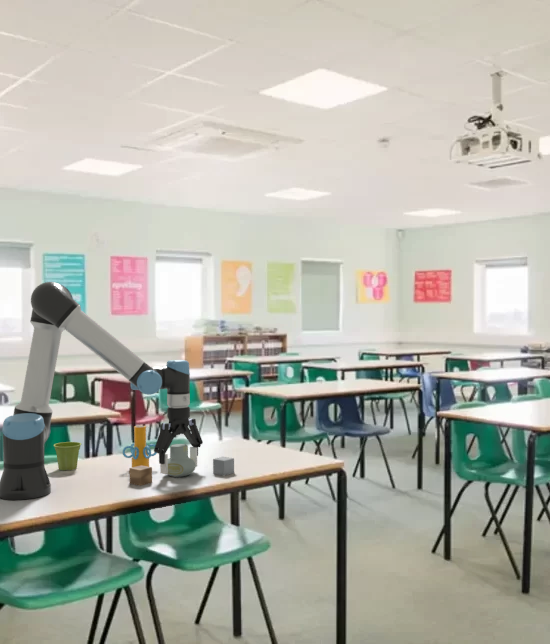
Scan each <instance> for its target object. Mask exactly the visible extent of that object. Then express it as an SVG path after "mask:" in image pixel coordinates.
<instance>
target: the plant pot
mask: <svg viewBox="0 0 550 644" xmlns="http://www.w3.org/2000/svg"><path fill="white" fill-rule="evenodd" d="M81 446H82V443H81V442H78V441H66V442H63V441H62V442H58V443H54V444H53V447H54V450H55V453H56V454H55V455H56V460H57V466H58V470H60V471H68V470H69V471H73V470H74V471H75V470H77V467H78V461H79V454H80V453H79V452H80V449H81Z"/></svg>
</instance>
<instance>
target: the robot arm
mask: <svg viewBox="0 0 550 644" xmlns="http://www.w3.org/2000/svg"><path fill="white" fill-rule="evenodd" d="M30 304H31V308H32V309H31V315H30V316H31V317H30V323H31V325H32V326H33V332H32V333H33V334H32V338H31V344H30V348H29V349H30V350H29V355H28V360H27V366H26V370H25V371H26V372H25V377H24V381H23V382H24V383H23V388H22V394H21V400H20V401H19V403H17V404H16V405H15V406H14V410H13V415H9V416H7V417H6V418H5V419H4V420H3V421H2V422H3V423H2V427H1V428H2V430H1V431H2V448H3V450H2V451H3V455H2V456H3V461H2V462H3V469H2V474H1V477H0V499H3V500H8V501H11V500H13V501H15V500H17V501H18V500H29V499H36V498H37V499H38V498H41V497H43V496H46V495H49V494H50V493H51V491H52V484H51V482H50V478H49V475H48V473H47V471H46V467H45V444H46V443H47V442H48V439H49V438H50V434H51V422H52V416H53V409H52V408H51V407H50V399H51V394H52V388H53V383H54V378H55V372H56V367H57V366H56V365H57V361H58V355H59V349H60V343H61V338H62V332H63V331H66V332H68V333H69V334H70V335H72V336H73V337H74V338H75V339H77V340H78V341H79V342H80V343H81V344H83V346H86V348H88V349H89V350H90V351H91V352H93V353H94V354H95V355H96V356H98V357H99V358H100V359H102V361H104V363H106V364H108V365H109V366H110V367H111V368H112V369H113V370H114V371H117V372H118V374H120V375H121V376H122V377H124V378H125V379H127V380H128V381H129V383H130V389H131V390H134V391H139V392H141V393H142V394H144V395H151V396H152V395H155V394H157V393H158V392H159V391H160V390H166V404H167V406H168V407H167V408H166V410H167V411H166V413H167V415H166V416H167V417H166V418H167V419H168V423H167V422H161V423H160V424H161V425H160V430H159V431H160V432H159V434H158V437H157V439H156V443H155V447H154V448H153V449H154V450H153V452H154V453H155V452H156V453H157V455H158V463H159V464H160V465H159V466H160V468H159V469H160V474H162V475H168V459H169V457H168V456H169V454H168V453H167V451H168V449H170V446H171V445H172V442H173V441H174V439H175V438H176V437H177V436H180V435H184V437H185V438H186V440H187V441H188V442H189V445H190V447H189V458H191V459H192V460H193V461H194V462H195V464H196V468H197V467H198V457H199V448H201V445H203V439H202V435H201V434H200V431H199V429H198V426H197V420H196V418H190V417H191V408H190V404H191V403H190V402H191V401H190V399H191V398H190V394H191V393H190V390H191V389H190V388H191V387H190V385H191V384H190V383H191V380H190V379H191V378H190V376H191V374H190V373H191V372H190V363H189V361H188V360H187V359H186V360H184V359H171V360H167V361H166V365H165V366H164V365H163V366H150V365H149V364H148V363H146V362H145V361H144V360H143V359H141V358H140V357H139V356H138V355H136V354H135V353H134V352H133V351H132V350H130V348H129V347H127V346H125V344H123V343H122V342H120V341H119V340H118V339H117V338H116V337H114V336H113V335H112V334H111V333H110V332H108V331H107V330H106V329H105V328H103V326H101V325H100V324H98V322H96V321H95V320H94V319H93V318H91V317H90V316H89V315H87V314H86V313H85V312H84V311H82V308H81V305H80V304H79V303H78V302H77V301H76V300H75V299H74V298H73V295H72V293H71V291H70V290H69V289H68V288H67V287H66V286H65V285H64V284H60V283H58V282H54V281H47V282H43V283H40V284H39V285H37V286H36V287H35V288H34V289H33V291H32V293H31V296H30Z"/></svg>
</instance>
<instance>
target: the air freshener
mask: <svg viewBox="0 0 550 644" xmlns="http://www.w3.org/2000/svg"><path fill="white" fill-rule="evenodd" d="M169 451H170V452H169V457H168V474H167V476H169V477H172V478H183V477H187V476H189V475H191V474H192V473H193V472H194V471H195V470H196V468H197V467H196V464H195V462H194V461H193V460H192V459H191V458H190V456H189V445H187V444H184V443H175V444H170V446H169Z"/></svg>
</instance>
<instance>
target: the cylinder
mask: <svg viewBox="0 0 550 644" xmlns="http://www.w3.org/2000/svg"><path fill="white" fill-rule="evenodd" d="M133 430H134V431H133V434H134V435H133V437H134V438H133V441H134V442H133V443H131V444H130V445H126V446H125V447H123V449H122V455H123V457H124V458H126V459H131V468H132V467H137V466H141V465H142V466H147V467H150V458H151V457H154V456H156V455H158V453H156V452H154V453H152V450H151V448H150V447H154V448H155V445H156V443H150V444H148V443H147V426H146V425H135V426H133ZM127 449H129V451H130V455H127V454H126V450H127Z"/></svg>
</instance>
